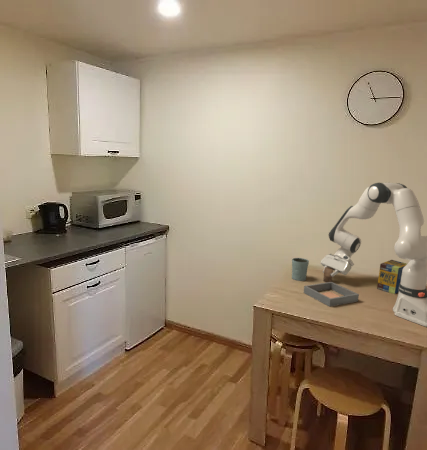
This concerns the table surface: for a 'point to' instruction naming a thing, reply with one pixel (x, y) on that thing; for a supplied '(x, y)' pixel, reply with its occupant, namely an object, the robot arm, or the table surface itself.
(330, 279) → the walnut post
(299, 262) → the teal cup
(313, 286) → the shallow gray dish
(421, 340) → the table surface
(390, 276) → the protein box
